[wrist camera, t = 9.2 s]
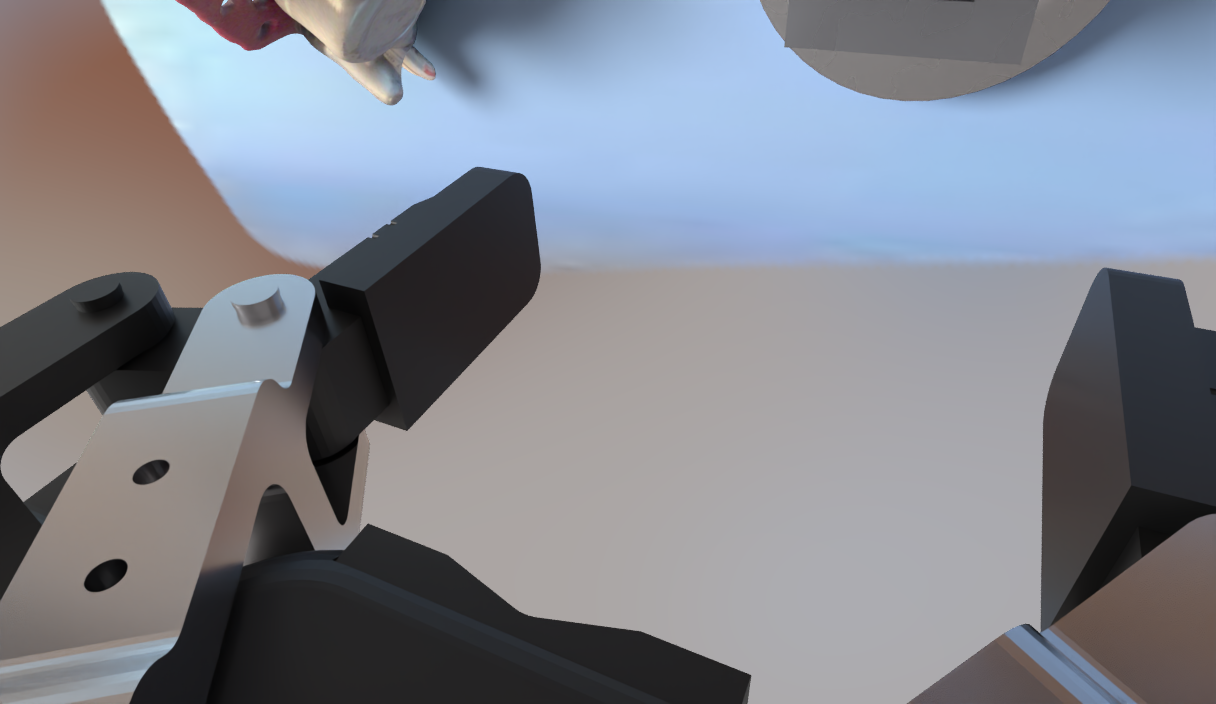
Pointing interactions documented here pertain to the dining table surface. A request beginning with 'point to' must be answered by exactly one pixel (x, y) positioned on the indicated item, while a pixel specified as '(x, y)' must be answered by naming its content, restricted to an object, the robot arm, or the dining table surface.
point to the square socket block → (914, 28)
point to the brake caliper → (331, 34)
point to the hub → (1056, 21)
